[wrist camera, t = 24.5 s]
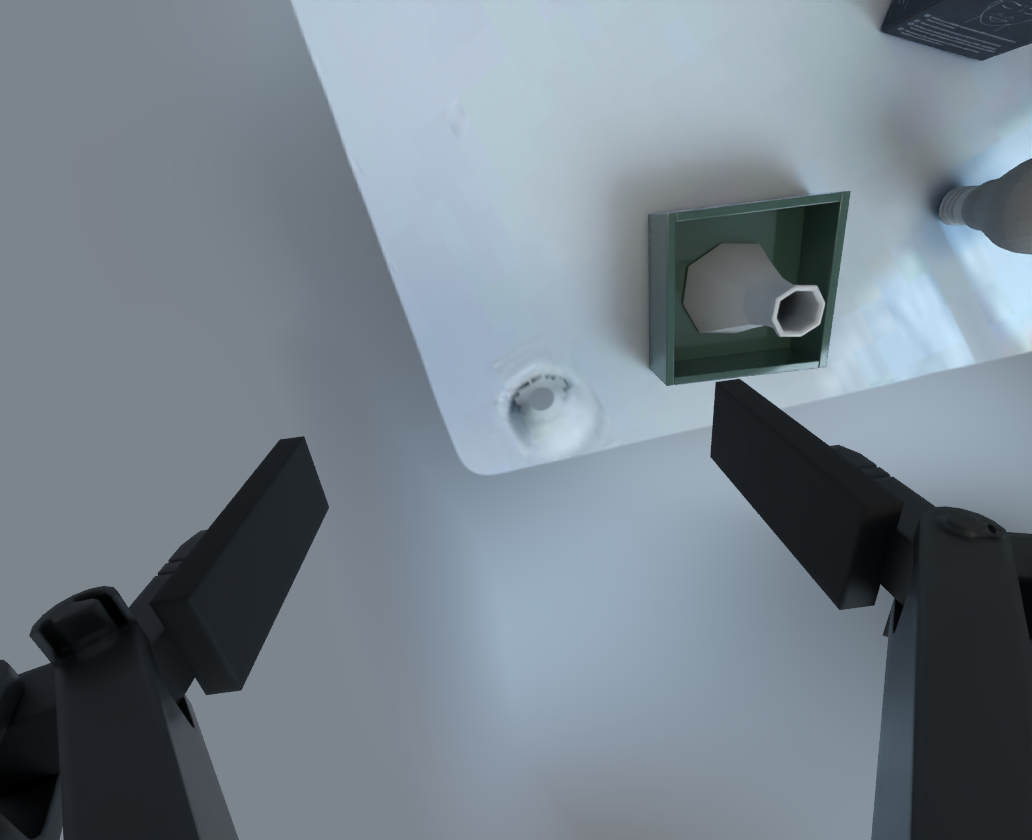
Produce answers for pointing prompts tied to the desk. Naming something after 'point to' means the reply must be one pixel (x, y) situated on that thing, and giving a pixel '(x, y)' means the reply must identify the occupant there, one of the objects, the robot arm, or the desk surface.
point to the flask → (748, 294)
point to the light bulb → (996, 209)
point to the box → (963, 25)
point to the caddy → (790, 248)
